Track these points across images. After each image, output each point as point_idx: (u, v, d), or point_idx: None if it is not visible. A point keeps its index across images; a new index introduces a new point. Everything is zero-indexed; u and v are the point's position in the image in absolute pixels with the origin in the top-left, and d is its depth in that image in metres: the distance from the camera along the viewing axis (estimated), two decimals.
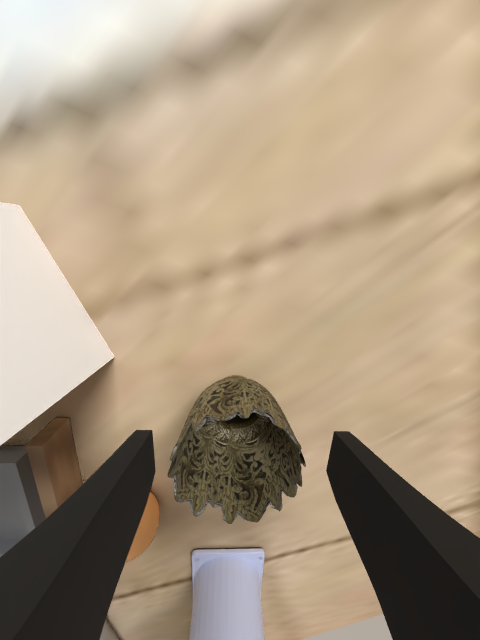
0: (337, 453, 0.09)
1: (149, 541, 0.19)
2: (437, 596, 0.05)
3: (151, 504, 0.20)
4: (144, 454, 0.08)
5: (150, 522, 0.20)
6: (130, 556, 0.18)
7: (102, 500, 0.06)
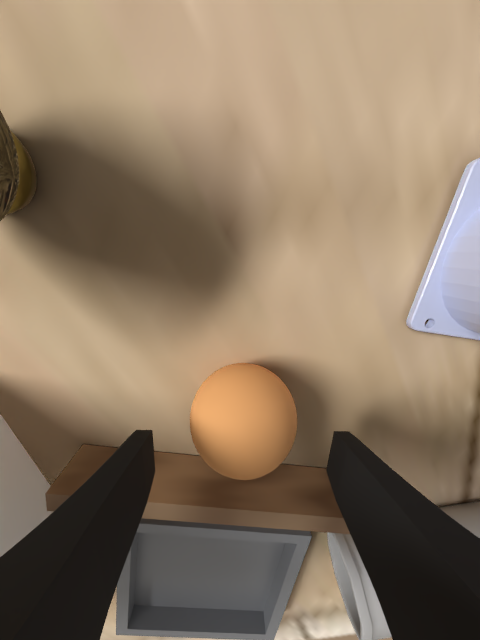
0: (337, 453, 0.09)
1: (261, 395, 0.09)
2: (437, 596, 0.05)
3: (214, 374, 0.11)
4: (144, 454, 0.08)
5: (225, 384, 0.10)
6: (257, 438, 0.09)
7: (102, 500, 0.06)
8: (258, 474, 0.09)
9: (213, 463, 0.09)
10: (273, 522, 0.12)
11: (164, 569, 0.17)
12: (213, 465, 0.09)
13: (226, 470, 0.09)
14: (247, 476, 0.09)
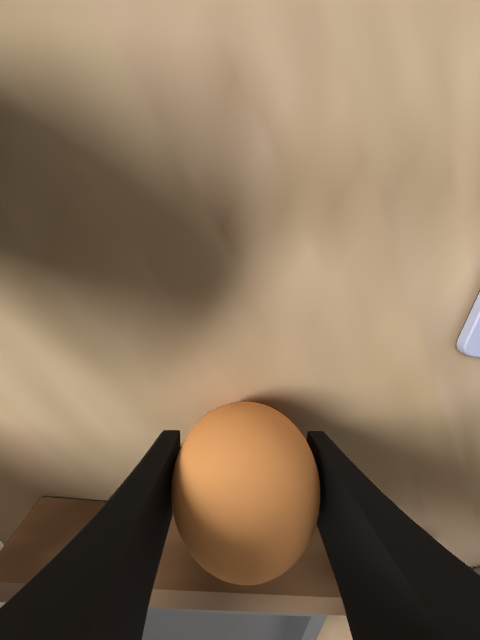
0: None
1: (272, 463, 0.06)
2: (388, 598, 0.05)
3: (205, 421, 0.08)
4: (174, 454, 0.08)
5: (220, 443, 0.07)
6: (268, 535, 0.06)
7: (145, 500, 0.06)
8: (268, 580, 0.06)
9: (202, 565, 0.06)
10: (284, 606, 0.10)
11: (149, 638, 0.14)
12: (202, 566, 0.06)
13: (221, 576, 0.06)
14: (252, 584, 0.06)
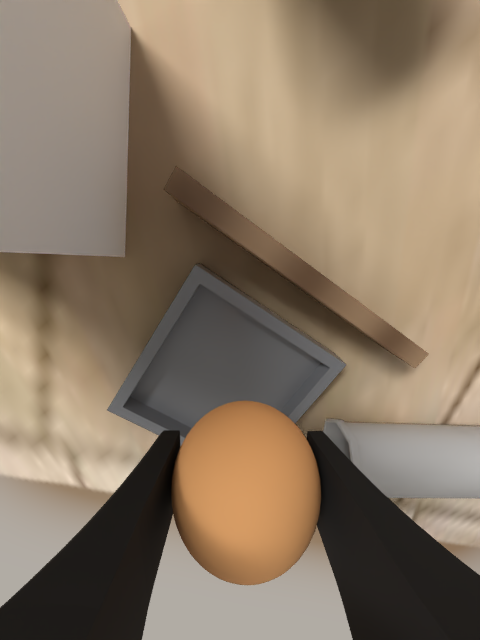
0: None
1: (273, 462, 0.06)
2: (388, 598, 0.05)
3: (206, 420, 0.08)
4: (174, 454, 0.08)
5: (220, 442, 0.07)
6: (269, 535, 0.06)
7: (145, 500, 0.06)
8: (268, 580, 0.06)
9: (202, 564, 0.06)
10: (346, 309, 0.13)
11: (184, 364, 0.17)
12: (202, 566, 0.06)
13: (221, 576, 0.06)
14: (253, 584, 0.06)
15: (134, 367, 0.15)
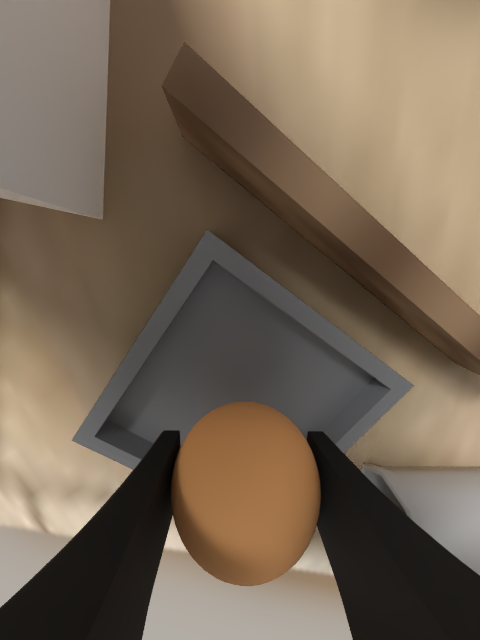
0: None
1: (273, 463, 0.06)
2: (388, 597, 0.05)
3: (205, 421, 0.08)
4: (174, 454, 0.08)
5: (220, 442, 0.07)
6: (268, 536, 0.06)
7: (145, 500, 0.06)
8: (268, 581, 0.06)
9: (202, 565, 0.06)
10: (436, 306, 0.09)
11: (184, 377, 0.12)
12: (201, 566, 0.06)
13: (221, 577, 0.06)
14: (252, 584, 0.06)
15: (111, 381, 0.10)
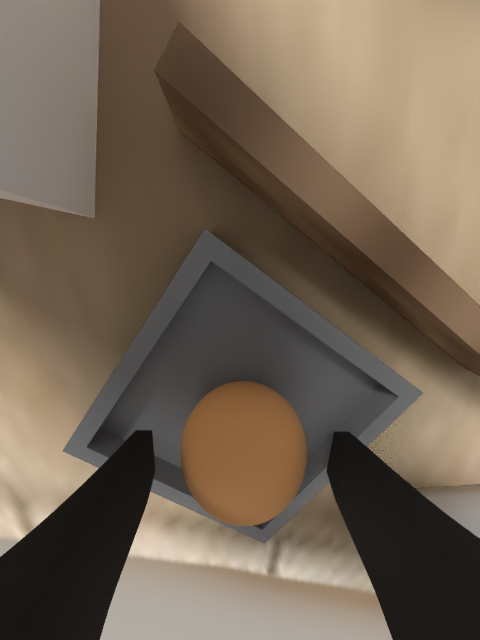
0: (337, 453, 0.09)
1: (266, 425, 0.08)
2: (437, 596, 0.05)
3: (209, 396, 0.09)
4: (144, 454, 0.08)
5: (222, 411, 0.08)
6: (262, 480, 0.07)
7: (102, 500, 0.06)
8: (262, 521, 0.07)
9: (208, 508, 0.07)
10: (449, 310, 0.08)
11: (181, 384, 0.11)
12: (207, 510, 0.08)
13: (223, 517, 0.07)
14: (249, 523, 0.07)
15: (104, 389, 0.10)
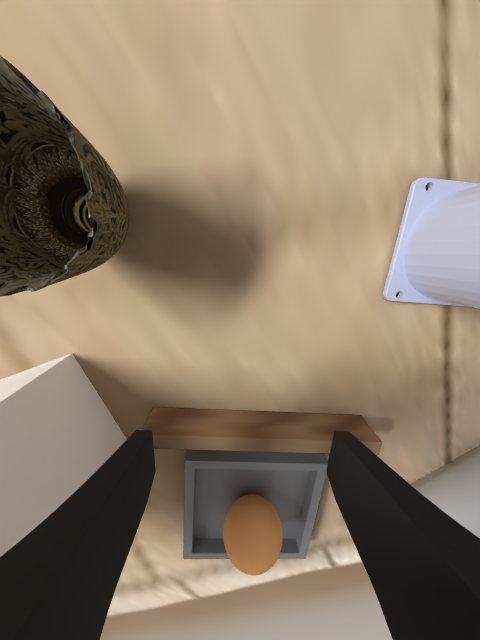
0: (337, 453, 0.09)
1: (248, 532, 0.18)
2: (437, 596, 0.05)
3: (226, 519, 0.19)
4: (144, 454, 0.08)
5: (230, 530, 0.18)
6: (254, 558, 0.17)
7: (102, 500, 0.06)
8: (267, 570, 0.17)
9: None
10: (299, 447, 0.17)
11: (216, 505, 0.22)
12: (245, 573, 0.18)
13: (251, 574, 0.18)
14: (262, 573, 0.17)
15: (184, 529, 0.21)
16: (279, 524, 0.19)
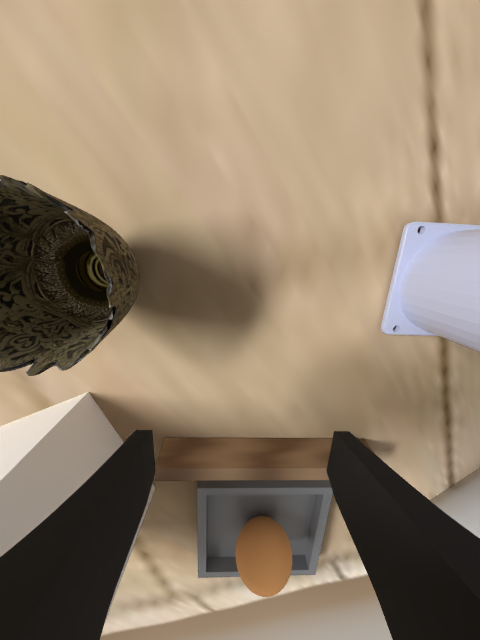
0: (337, 453, 0.09)
1: (259, 556, 0.19)
2: (437, 596, 0.05)
3: (238, 541, 0.20)
4: (144, 454, 0.08)
5: (242, 554, 0.19)
6: (266, 581, 0.18)
7: (102, 500, 0.06)
8: (278, 591, 0.18)
9: (257, 594, 0.19)
10: (305, 475, 0.18)
11: (228, 526, 0.23)
12: (257, 594, 0.19)
13: (263, 596, 0.19)
14: (274, 594, 0.18)
15: (198, 550, 0.22)
16: (288, 546, 0.20)
